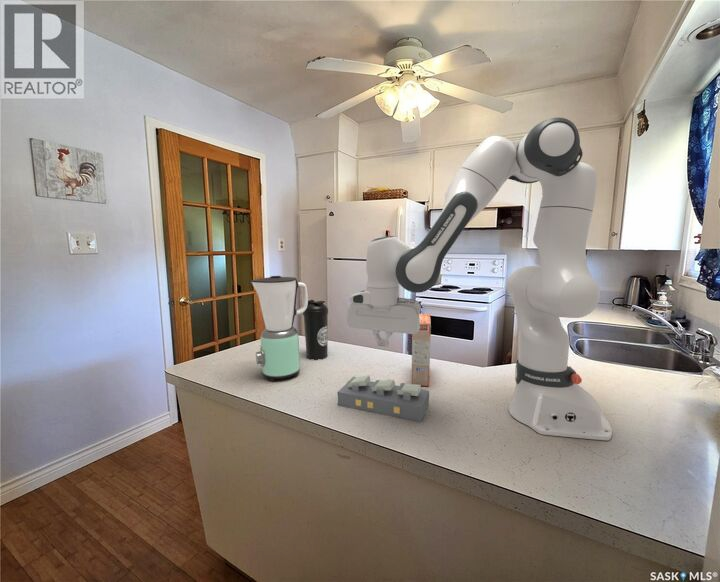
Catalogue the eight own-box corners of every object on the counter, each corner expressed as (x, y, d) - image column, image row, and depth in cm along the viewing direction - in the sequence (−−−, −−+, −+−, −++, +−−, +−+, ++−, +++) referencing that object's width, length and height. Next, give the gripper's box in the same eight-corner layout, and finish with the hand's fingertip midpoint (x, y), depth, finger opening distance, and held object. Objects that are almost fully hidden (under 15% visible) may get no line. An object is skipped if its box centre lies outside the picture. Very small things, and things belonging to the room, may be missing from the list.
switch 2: (395, 384, 93) (393, 379, 93) (390, 390, 90) (389, 384, 89) (377, 385, 96) (375, 380, 95) (372, 391, 92) (371, 385, 92)
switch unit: (428, 403, 93) (429, 384, 92) (421, 422, 84) (421, 401, 83) (352, 390, 103) (351, 372, 102) (337, 405, 93) (336, 386, 92)
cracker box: (430, 387, 104) (431, 323, 101) (410, 386, 105) (411, 322, 102) (429, 370, 117) (430, 313, 114) (412, 369, 118) (413, 312, 115)
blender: (260, 386, 106) (253, 279, 101) (254, 372, 118) (247, 276, 113) (316, 375, 115) (312, 276, 109) (304, 362, 126) (300, 272, 121)
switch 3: (421, 389, 90) (420, 384, 90) (417, 396, 87) (417, 390, 87) (401, 388, 93) (401, 382, 92) (397, 394, 89) (397, 388, 89)
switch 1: (370, 379, 96) (369, 374, 96) (365, 385, 92) (364, 380, 92) (353, 381, 98) (352, 376, 98) (348, 387, 95) (346, 382, 95)
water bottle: (318, 362, 127) (316, 304, 123) (299, 357, 132) (296, 301, 129) (334, 354, 135) (333, 299, 131) (315, 350, 140) (313, 297, 137)
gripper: (423, 297, 87) (422, 346, 90) (353, 293, 95) (354, 338, 97) (417, 301, 82) (416, 354, 84) (344, 296, 90) (344, 345, 92)
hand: (382, 345), depth 91 cm, fingers closed
